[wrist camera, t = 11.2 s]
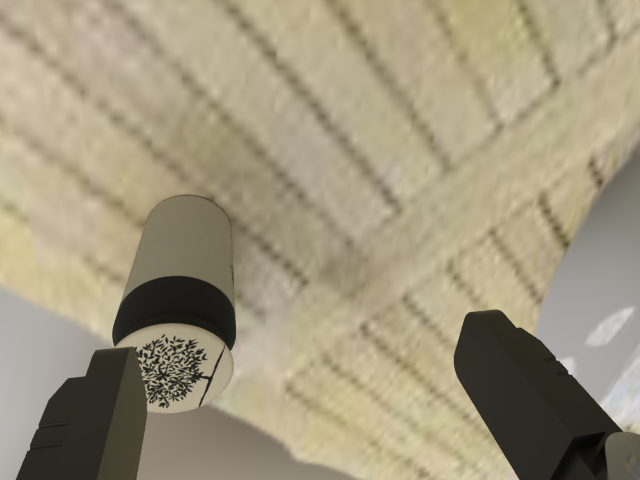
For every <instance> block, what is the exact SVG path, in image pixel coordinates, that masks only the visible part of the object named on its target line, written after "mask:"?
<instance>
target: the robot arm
mask: <svg viewBox="0 0 640 480" xmlns="http://www.w3.org/2000/svg"><path fill="white" fill-rule="evenodd" d="M454 367H455V372H456V375H457V377H458V379H459V381H460V383H461V384H462V386H463V387H464V389H465V391H466V392H467V394H468V396H469V397H470V399H471V401H472V402H473V404H474V406H475V407H476V409H477V411H478V412H479V414H480V415H481V417H482V419H483V420H484V422H485V424H486V425H487V427H488V429H489V430H490V432H491V434H492V435H493V437H494V438H495V440H496V442H497V443H498V445H499V447H500V448H501V450H502V452H503V453H504V455H505V457H506V458H507V460H508V462H509V463H510V465H511V466H512V468H513V470H514V471H515V473H516V475H517V476H518V478H519V480H640V435H639V434H636V433H631V432H623V431H622V430H621V429H620V428H619V427H618V426H617V425H616V423H615V422H614V421H613V420H612V419H611V418H610V417H609V416H608V415H607V413H606V412H605V411H604V410H603V409H602V408H601V407H600V406H599V405H598V404H597V402H596V401H595V400H594V399H593V398H592V397H591V396H590V395H589V394H588V393H587V391H586V390H585V389H584V388H583V387H582V386H581V385H580V384H579V383H578V381H577V380H576V379H575V378H574V377H573V376H572V375H569V374H568V370H567V369H566V368H565V367H564V366H563V365H562V364H561V363H560V362H559V361H556V357H555V356H554V355H553V354H552V353H551V352H550V351H549V349H548V348H547V347H545V345H544V344H543V343H542V342H541V341H540V340H539V339H537V338H536V337H534V336H533V335H531V334H530V333H528V332H527V331H525V330H524V329H522V328H521V327H520V328H516V327H515V326H514V324H513V323H512V322H511V321H510V320H509V319H508V318H507V316H506V315H505V314H504V313H503V312H502V311H500V310H486V311H477V312H469V313H468V314H467V315H466V316H465V319H464V322H463V326H462V329H461V333H460V336H459V340H458V343H457V347H456V350H455V354H454ZM146 419H147V396H146V390H145V386H144V382H143V378H142V374H141V369H140V365H139V361H138V357H137V353H136V350H135V348H134V347H133V346H131V347H122V348H112V349H103V350H96V351H95V352H94V354H93V356H92V359H91V362H90V365H89V368H88V370H87V373H86V376H85V377H76V378H69V379H67V380H66V381H65V383H64V384H63V385H62V386H61V387H60V388H59V389H58V390H57V391H56V393H55V394H54V395H53V396H52V397H51V398H50V399H49V401H48V403H47V406H46V408H45V410H44V413H43V415H42V418H41V420H40V423H39V428H38V430H36V433H35V434H34V437H33V439H32V442H31V444H30V450H29V451H28V452H27V454H26V457H25V459H24V461H23V463H22V466H21V469H20V471H19V473H18V476H17V478H16V480H136V478H137V472H138V466H139V461H140V455H141V449H142V443H143V437H144V431H145V425H146Z"/></svg>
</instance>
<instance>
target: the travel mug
mask: <svg viewBox="0 0 640 480" xmlns="http://www.w3.org/2000/svg"><path fill="white" fill-rule="evenodd" d="M112 338H113V343H114V346H115V347H114V348H122V347H131V346H133V347H134V348H135V350H136V353H137V357H138V361H139V365H140V369H141V374H142V378H143V382H144V386H145V390H146V396H147V411H150V412H156V413H177V412H183V411H188V410H192V409H195V408H198V407H200V406H203V405H205V404H207V403H209V402H211V401H212V400H214V399H215V398H216V397H218V396H219V395H220V394H221V393H222V392H223V391H224V390H225V389H226V387H227V386H228V384H229V382H230V380H231V378H232V375H233V370H234V362H233V357H232V354H231V352H230V351H231V350H232V348H233V345H234V343H235V339H236V320H235V298H234V277H233V256H232V234H231V226H230V222H229V220H228V218H227V216H226V215H225V213H224V212H223V211H222V210H221V209H220V208H219V207H218V206H217V205H216V204H214V203H212V202H211V201H209V200H207V199H204V198H201V197H197V196H189V195H184V196H176V197H172V198H169V199H167V200H165V201H163V202H161V203H160V204H158V205H157V206H156V207H155V208H154V209H153V210H152V211H151V213H150V214H149V216H148V218H147V221H146V224H145V227H144V230H143V233H142V237H141V240H140V243H139V246H138V249H137V252H136V256H135V259H134V262H133V265H132V268H131V272H130V275H129V278H128V281H127V284H126V287H125V291H124V294H123V297H122V300H121V303H120V307H119V310H118V313H117V316H116V319H115V323H114V326H113V331H112Z"/></svg>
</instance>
